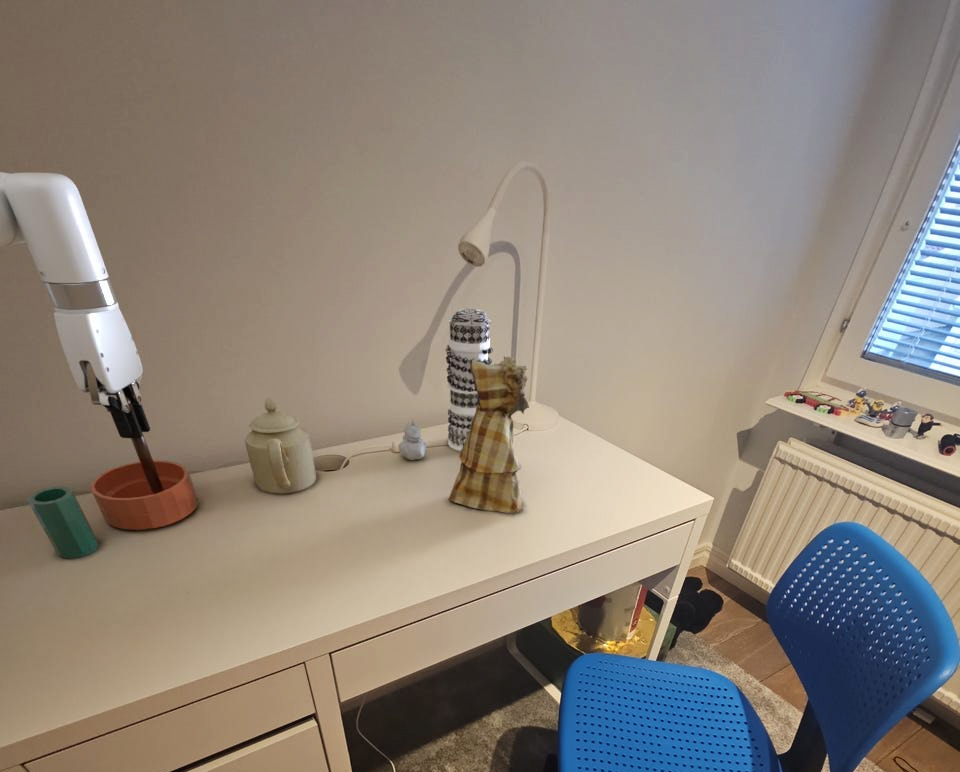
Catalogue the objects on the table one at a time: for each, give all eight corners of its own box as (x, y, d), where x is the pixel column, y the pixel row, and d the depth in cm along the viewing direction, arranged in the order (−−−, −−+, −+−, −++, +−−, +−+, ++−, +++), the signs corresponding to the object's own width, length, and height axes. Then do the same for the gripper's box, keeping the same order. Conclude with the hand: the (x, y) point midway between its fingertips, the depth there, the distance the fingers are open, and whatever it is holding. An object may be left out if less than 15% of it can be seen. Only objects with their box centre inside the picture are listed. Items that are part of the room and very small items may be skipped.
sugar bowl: (338, 490, 102) (325, 406, 92) (282, 508, 96) (262, 421, 86) (299, 463, 110) (283, 383, 100) (245, 478, 105) (223, 395, 95)
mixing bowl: (88, 532, 89) (71, 497, 85) (132, 491, 99) (118, 458, 95) (177, 535, 89) (164, 501, 85) (211, 494, 100) (201, 461, 96)
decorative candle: (475, 432, 125) (478, 304, 108) (497, 447, 119) (503, 314, 102) (439, 439, 121) (436, 308, 104) (459, 455, 115) (460, 319, 99)
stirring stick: (151, 497, 91) (112, 398, 81) (156, 492, 93) (118, 394, 82) (162, 498, 91) (124, 398, 81) (167, 493, 93) (130, 394, 82)
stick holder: (50, 558, 83) (18, 503, 77) (70, 539, 87) (42, 485, 81) (86, 559, 83) (58, 504, 77) (105, 540, 87) (79, 487, 81)
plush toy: (468, 466, 109) (465, 335, 88) (537, 479, 106) (550, 347, 86) (445, 513, 101) (436, 381, 81) (519, 528, 99) (528, 396, 78)
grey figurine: (406, 465, 111) (404, 425, 105) (394, 453, 115) (391, 414, 110) (431, 461, 113) (430, 421, 107) (418, 449, 117) (416, 410, 112)
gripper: (86, 283, 79) (136, 414, 91) (15, 307, 67) (83, 454, 79) (139, 285, 79) (182, 416, 91) (77, 309, 67) (135, 456, 79)
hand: (135, 433), depth 85 cm, fingers closed on stirring stick, 1 cm apart
